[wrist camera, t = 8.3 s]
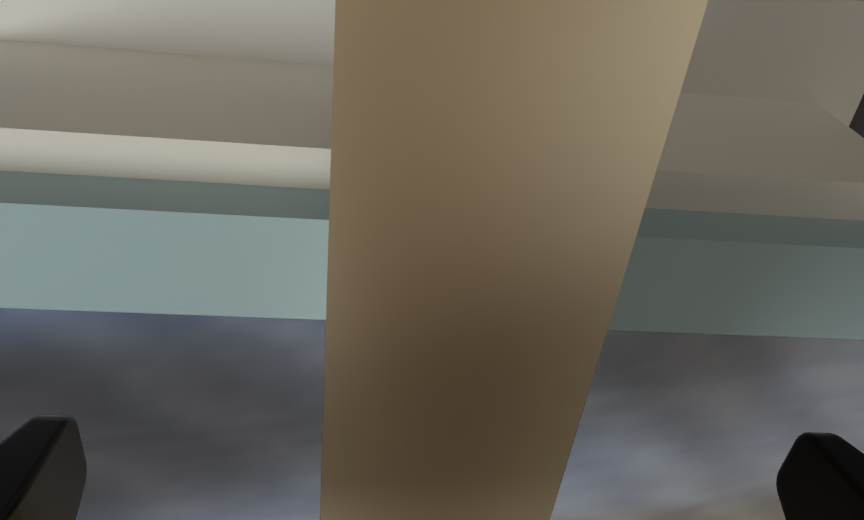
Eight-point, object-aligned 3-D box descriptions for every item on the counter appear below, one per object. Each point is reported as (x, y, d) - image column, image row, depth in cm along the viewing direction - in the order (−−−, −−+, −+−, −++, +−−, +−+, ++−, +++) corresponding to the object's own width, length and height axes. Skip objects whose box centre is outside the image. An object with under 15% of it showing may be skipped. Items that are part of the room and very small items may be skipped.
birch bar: (688, -584, 7) (988, -918, 4) (445, 611, 18) (463, 803, 15) (369, -648, 6) (367, -1084, 3) (321, 612, 17) (310, 810, 14)
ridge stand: (751, 285, 20) (873, 450, 16) (-2, 251, 18) (-142, 432, 13) (876, -7, 16) (1102, 92, 11) (-97, -102, 14) (-360, -30, 9)
